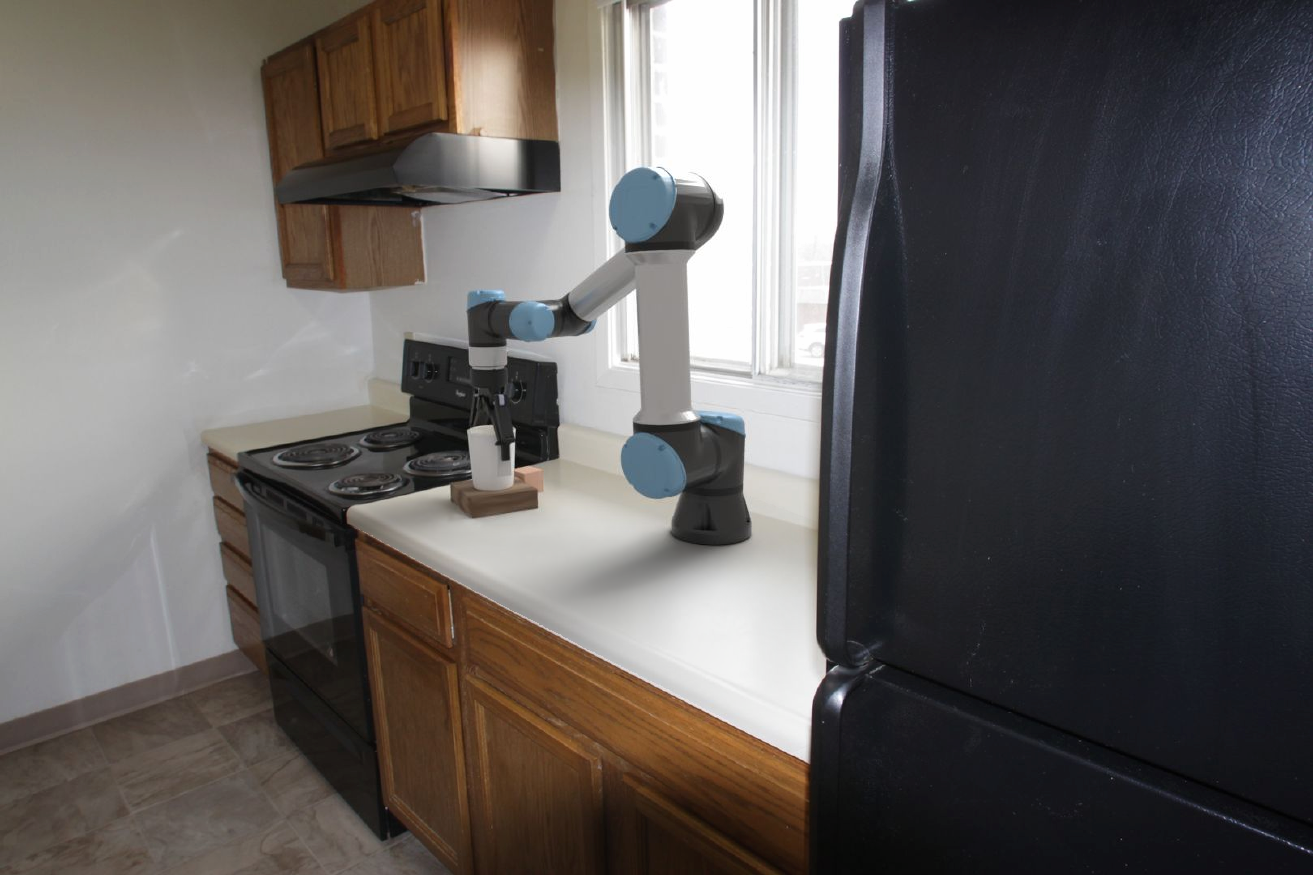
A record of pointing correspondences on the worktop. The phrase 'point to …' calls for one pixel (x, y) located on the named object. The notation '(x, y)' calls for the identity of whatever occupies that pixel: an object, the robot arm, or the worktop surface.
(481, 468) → the white cup
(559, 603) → the worktop surface
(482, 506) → the walnut slab
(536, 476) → the terracotta cube
